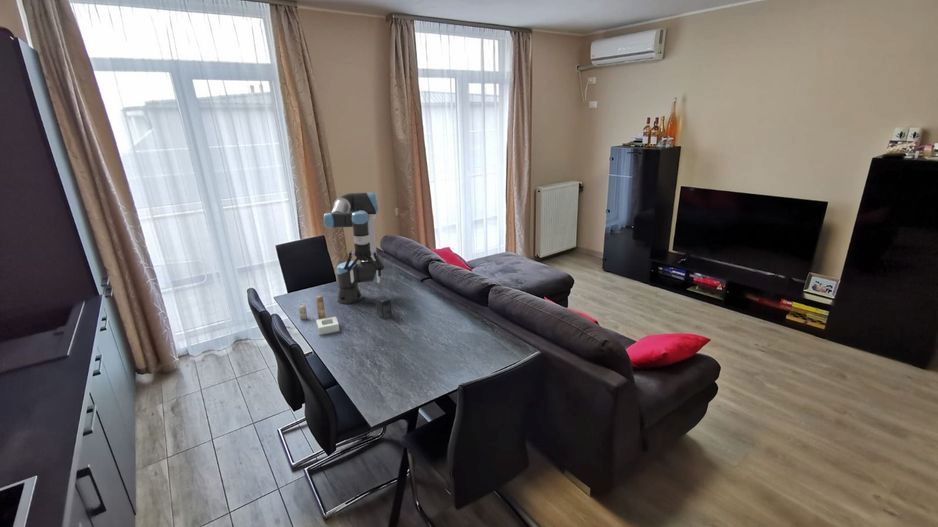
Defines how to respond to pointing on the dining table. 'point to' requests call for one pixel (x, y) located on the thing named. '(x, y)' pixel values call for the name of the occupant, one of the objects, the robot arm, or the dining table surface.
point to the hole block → (327, 325)
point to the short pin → (302, 312)
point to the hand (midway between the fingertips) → (365, 282)
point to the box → (383, 307)
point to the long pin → (320, 307)
